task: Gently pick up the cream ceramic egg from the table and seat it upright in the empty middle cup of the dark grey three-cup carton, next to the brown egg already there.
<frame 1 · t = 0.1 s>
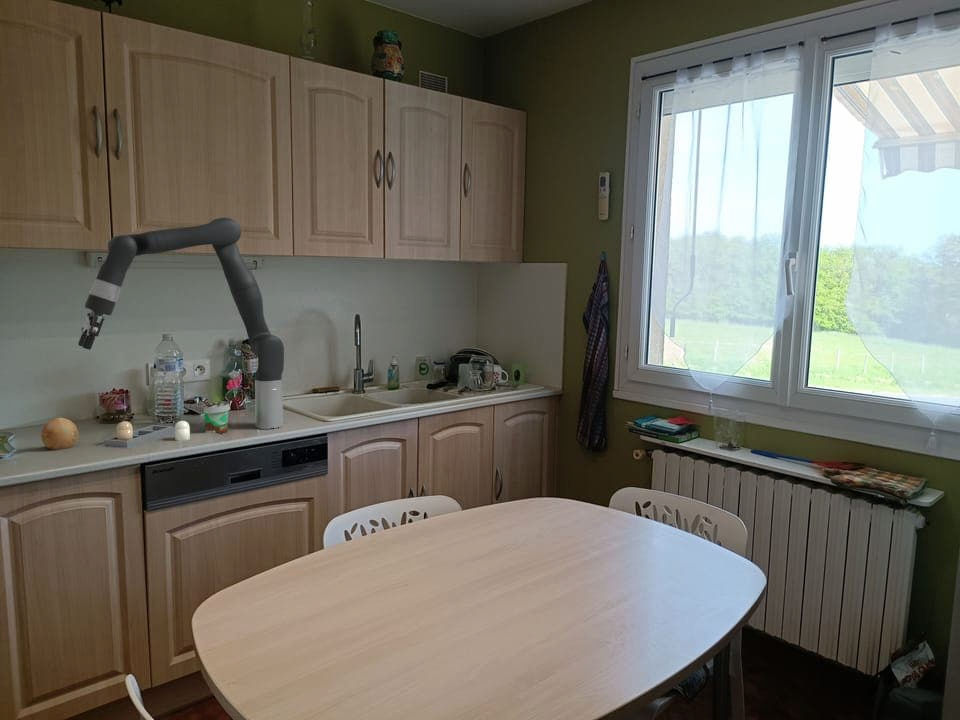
hand: (83, 347, 201), 31 cm above the table, tool tilted 20°, fingers open, 8 cm apart
carton: (140, 441, 215), on the table
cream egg: (182, 442, 216), on the table
brown egg: (125, 443, 208), point 1 cm above the table, touching carton
food container: (220, 433, 230), on the table
onion: (61, 450, 203), on the table
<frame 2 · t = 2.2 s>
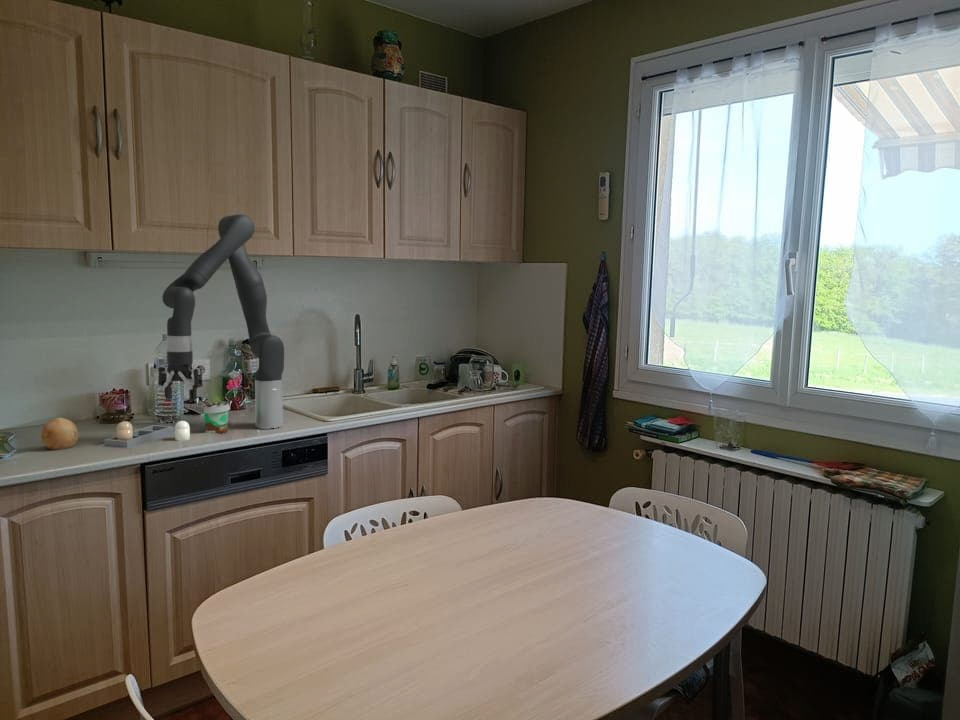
hand: (180, 399, 214), 14 cm above the table, tool pointing down, fingers open, 8 cm apart
nothing on the table moved.
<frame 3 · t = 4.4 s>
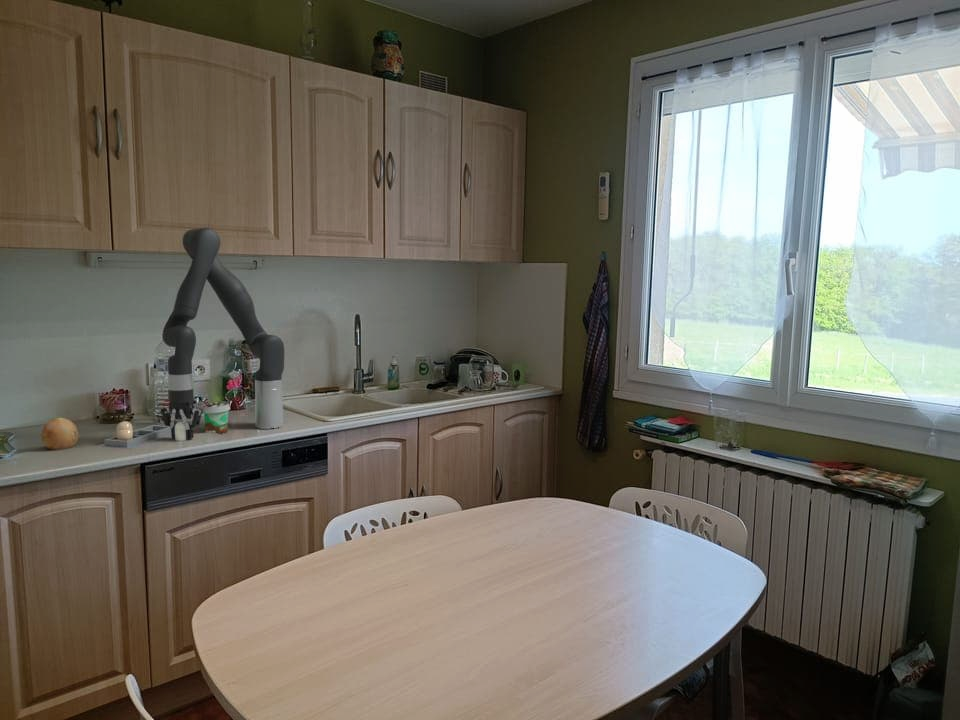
hand: (182, 439, 216), 1 cm above the table, tool pointing down, fingers closed on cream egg, 4 cm apart
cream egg: (182, 442, 216), on the table, touching gripper
everything else where it was.
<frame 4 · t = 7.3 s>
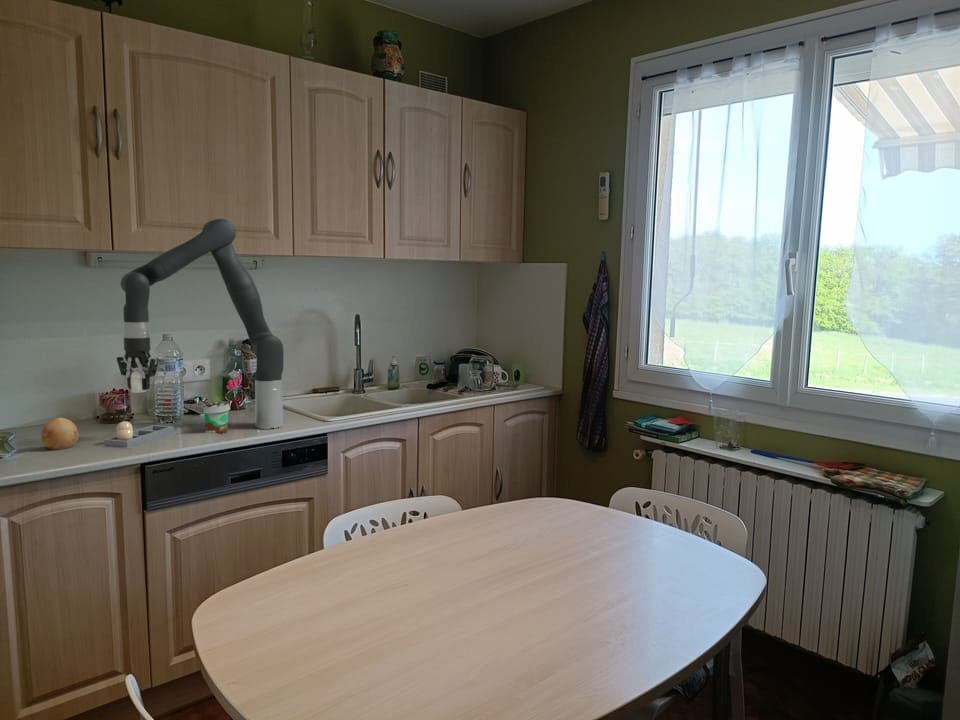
hand: (138, 389, 213), 17 cm above the table, tool pointing down, fingers closed on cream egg, 4 cm apart
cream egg: (138, 391, 213), point 16 cm above the table, touching gripper
everything else where it was.
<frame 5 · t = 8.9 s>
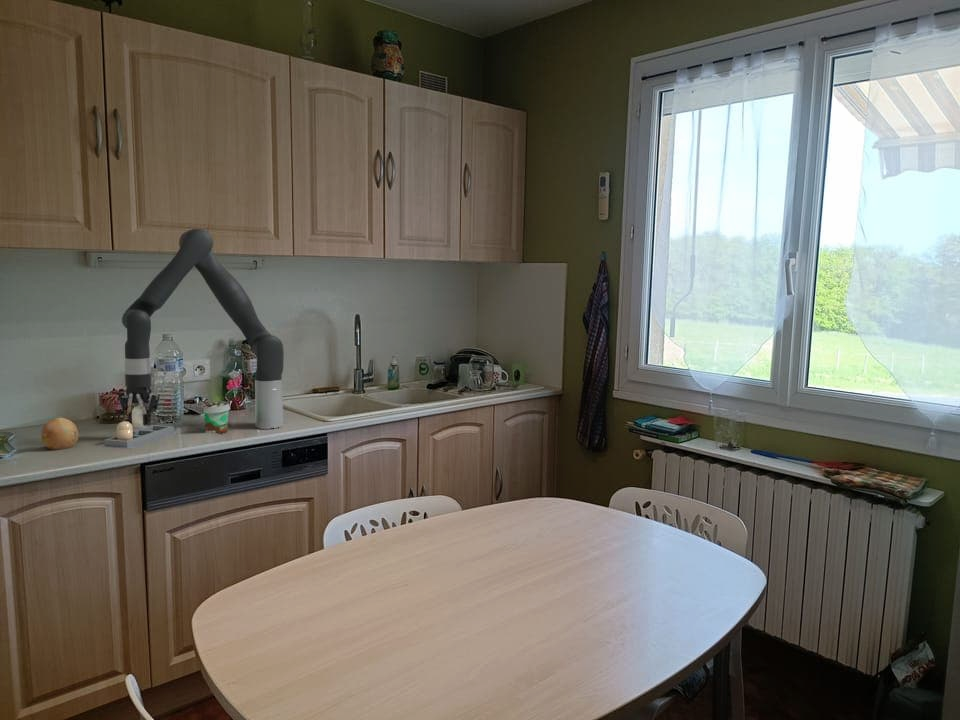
hand: (139, 424, 215), 6 cm above the table, tool pointing down, fingers closed on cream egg, 4 cm apart
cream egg: (139, 426, 215), point 5 cm above the table, touching gripper
everything else where it was.
when the fingers open (3 cm above the table, at t = 10.1 s): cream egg drops 2 cm, resting on carton.
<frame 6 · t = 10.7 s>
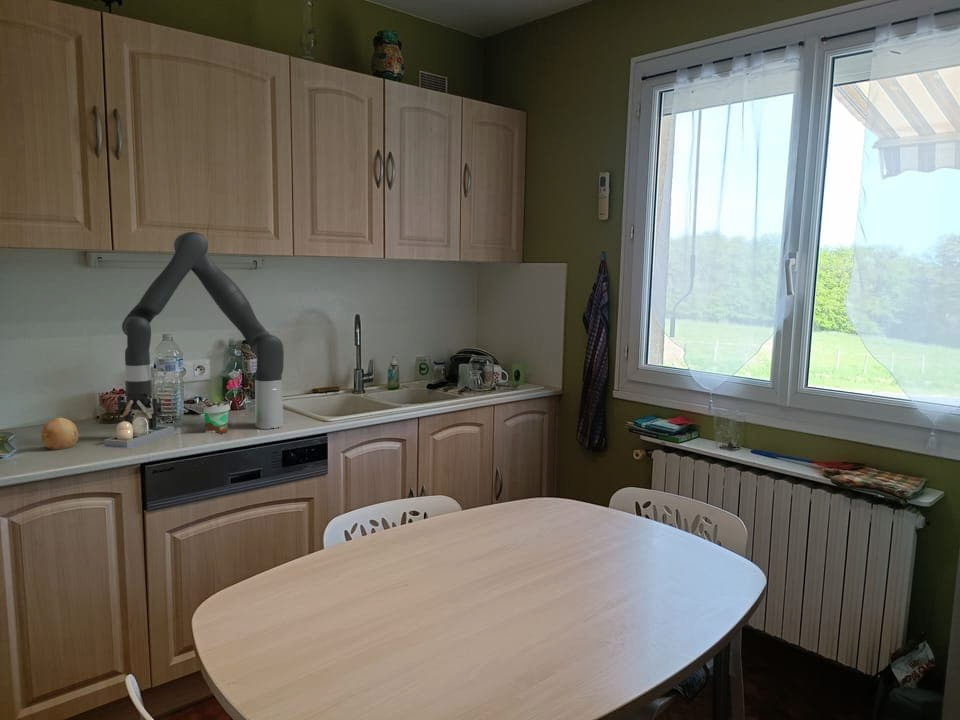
hand: (140, 428, 215), 4 cm above the table, tool pointing down, fingers open, 8 cm apart
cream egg: (140, 438, 215), point 1 cm above the table, touching carton
everything else where it was.
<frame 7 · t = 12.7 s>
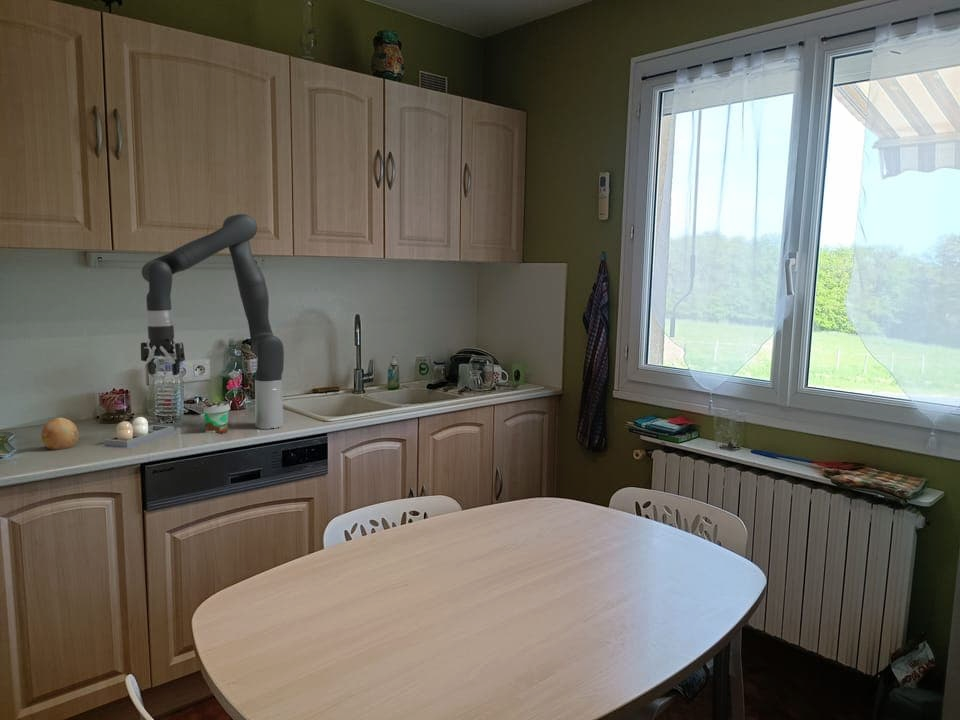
hand: (164, 374, 214), 22 cm above the table, tool pointing down, fingers open, 8 cm apart
nothing on the table moved.
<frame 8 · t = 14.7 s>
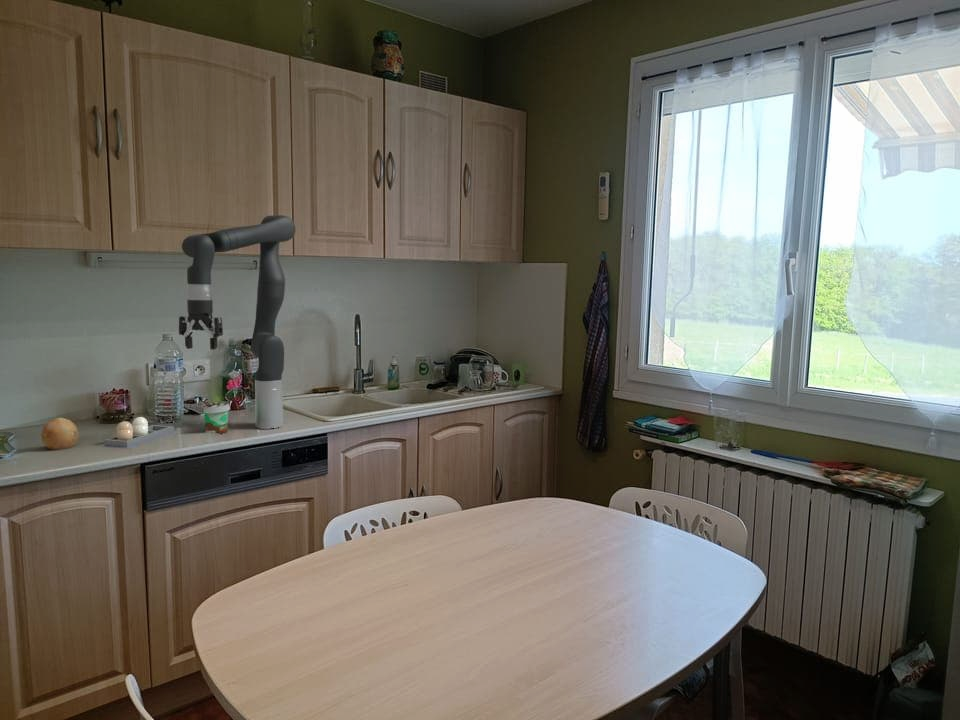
hand: (201, 348, 215), 30 cm above the table, tool pointing down, fingers open, 8 cm apart
nothing on the table moved.
at the end: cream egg 0.0 cm off-centre on the carton, point 1.0 cm above the carton's base; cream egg tilted 0°; the gripper is holding nothing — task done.
